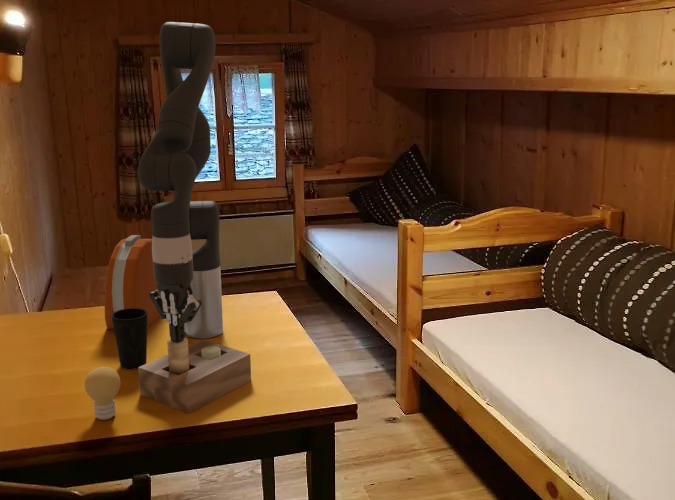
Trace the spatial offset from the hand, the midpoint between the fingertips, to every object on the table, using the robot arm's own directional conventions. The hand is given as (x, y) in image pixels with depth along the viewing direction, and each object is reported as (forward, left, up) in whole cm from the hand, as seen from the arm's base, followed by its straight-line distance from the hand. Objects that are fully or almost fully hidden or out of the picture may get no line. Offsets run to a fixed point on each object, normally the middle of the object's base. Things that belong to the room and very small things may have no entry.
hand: (177, 340), depth 141 cm
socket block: (0, +5, -12) cm, 13 cm away
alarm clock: (-42, +24, -12) cm, 50 cm away
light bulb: (-5, -14, -12) cm, 20 cm away
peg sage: (0, +9, -12) cm, 15 cm away
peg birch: (0, 0, -7) cm, 7 cm away
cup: (-20, +5, -12) cm, 24 cm away
